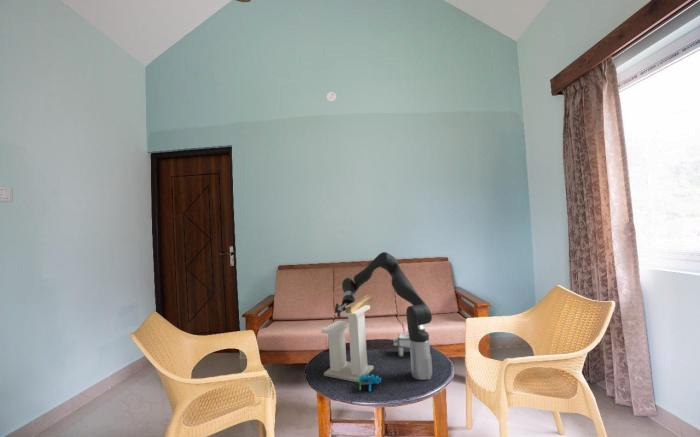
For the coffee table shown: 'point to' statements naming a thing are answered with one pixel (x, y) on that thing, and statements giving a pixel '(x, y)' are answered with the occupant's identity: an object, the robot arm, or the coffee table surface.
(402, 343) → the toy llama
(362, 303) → the wooden slat
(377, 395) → the coffee table surface
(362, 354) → the two-step rack
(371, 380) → the blue legged figure
